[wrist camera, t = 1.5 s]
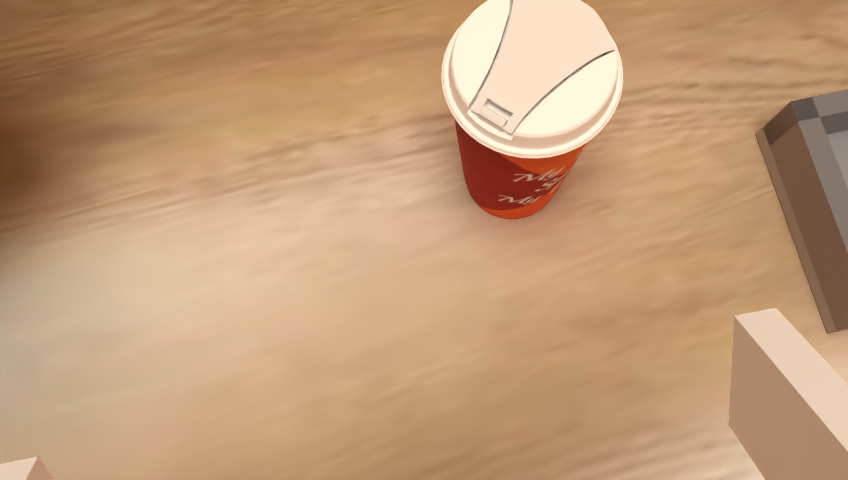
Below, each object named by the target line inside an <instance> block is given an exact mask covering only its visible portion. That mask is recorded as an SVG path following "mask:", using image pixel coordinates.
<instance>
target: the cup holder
mask: <svg viewBox="0 0 848 480" xmlns="http://www.w3.org/2000/svg"><path fill="white" fill-rule="evenodd" d="M756 137H757V140H758V142H759V145H760V148H761V151H762V154H763V156H764V159H765V162H766V165H767V168H768V170H769V173H770V176H771V179H772V181H773V184H774V187H775V190H776V193H777V195H778V198H779V201H780V204H781V206H782V209H783V212H784V215H785V218H786V220H787V223H788V226H789V229H790V232H791V234H792V237H793V240H794V243H795V245H796V248H797V251H798V254H799V257H800V259H801V262H802V265H803V268H804V270H805V273H806V276H807V279H808V282H809V284H810V287H811V290H812V293H813V296H814V298H815V301H816V304H817V307H818V309H819V312H820V315H821V318H822V321H823V323H824V326H825V329H826V332H827V333H831V332H836V331H841V330H845V329H848V89H847V90H843V91H838V92H833V93H829V94H824V95H819V96H815V97H810V98H805V99H800V100H796V101H791V102H789V103H788V104H787V105H786V106H785V107H784V108H783V109H782V110H781V111H780V112H779V113H778V114H777V115H776V116H775V117H774V118H773V119H772V120H771V121H770V122H769V123H768V124H767V125H766V126H765V127H764V128H763V129H761V130H760V131H759V132H758V133H757V134H756Z"/></svg>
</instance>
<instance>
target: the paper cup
mask: <svg viewBox="0 0 848 480" xmlns="http://www.w3.org/2000/svg"><path fill="white" fill-rule="evenodd" d="M622 85H623V68H622V63H621V57H620V55H619V52H618V49H617V47H616V44H615V42H614V41H613V39H612V37H611V36H610V34H609V32H608V31H607V29H606V27H605V25H604V23H603V22H602V20H601V19H600V17H599V16H598V14H597V13H596V12H595V11H594V10H593V9H592V8H591V7H590V6H589V5H587V4H586V3H584V2H582V1H580V0H488V1H486V2H485V3H483V4H482V5H481V6H479V7H478V8H477V9H476V10H475V11H473V13H472V14H471V15H470V16H469V17H468V18H467V19H466V20H465V21H464V23H463V24H462V25H461V26H460V27H459V28H458V29H457V31H456V32H455V34H454V35H453V37H452V39H451V40H450V42H449V45H448V47H447V49H446V52H445V55H444V60H443V64H442V86H443V92H444V96H445V99H446V103H447V105H448V107H449V109H450V111H451V113H452V115H453V117H454V118H455V123H456V130H457V136H458V142H459V148H460V154H461V160H462V166H463V171H464V176H465V180H466V184H467V187H468V190H469V192H470V194H471V196H472V198H473V199H474V200H475V202H476V203H477V204H478V205H479V206H480V207H481V208H482V209H484V210H485V211H487V212H488V213H490V214H492V215H495V216H497V217H501V218H507V219H517V218H523V217H527V216H529V215H532V214H534V213H536V212H537V211H539V210H540V209H542V208H543V207H544V206H545V205H546V204H547V203H548V202H549V201H550V199H551V198H552V197H553V195H554V194H555V193H556V191H557V190H558V188H559V187H560V185H561V183H562V182H563V180H564V179H565V177H566V176H567V174H568V172H569V171H570V169H571V168H572V166H573V164H574V163H575V161H576V160H577V158H578V156H579V155H580V153H581V152H582V150H583V148H584V147H585V145H586V143H587V142H588V141H590V140H591V139H592V138H593V137H595V136H596V135H597V134H598V133H599V132H600V131H601V130H602V129H603V128H604V126H605V125H606V124H607V123H608V122H609V120H610V119H611V117H612V115H613V113H614V111H615V110H616V108H617V105H618V102H619V99H620V97H621V92H622Z"/></svg>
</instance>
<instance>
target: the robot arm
mask: <svg viewBox="0 0 848 480" xmlns="http://www.w3.org/2000/svg"><path fill="white" fill-rule="evenodd" d="M729 426H730V427H731V429H732V430H733V432H734V433H735V435H736V436H737V438H738V439H739V441H740V442H741V444H742V445H743V447H744V448H745V450H746V451H747V453H748V454H749V456H750V457H751V459H752V460H753V462H754V463H755V465H756V466H757V468H758V469H759V471H760V472H761V474H762V475H763V477H764V478H765V480H848V384H847V383H846V382H845V381H844V380H843V379H842V378H841V376H840V375H839V374H838V373H837V372H836V371H835V370H834V369H833V368H832V367H831V366H830V365H829V364H828V363H827V362H826V361H825V360H824V358H823V357H822V356H821V355H820V354H819V353H818V352H817V351H816V350H815V349H814V348H813V347H812V346H811V345H810V344H809V343H808V341H807V340H806V339H805V338H804V337H803V336H802V335H801V334H800V333H799V332H798V331H797V330H796V329H795V328H794V327H793V326H792V325H791V323H790V322H789V321H788V320H787V319H786V318H785V317H784V316H783V315H782V314H781V313H780V312H779V311H778V310H777V309H776V308H772V309H767V310H762V311H757V312H752V313H747V314H742V315H737V316H734V334H733V353H732V372H731V390H730V409H729ZM0 480H53V478H52V477H51V475H50V474H49V472H48V470H47V469H46V467H45V466H44V464H43V463H42V461H41V460H40V458H39V457H38V456H37V457H32V458H27V459H22V460H17V461H12V462H7V463H2V464H0Z"/></svg>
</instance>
